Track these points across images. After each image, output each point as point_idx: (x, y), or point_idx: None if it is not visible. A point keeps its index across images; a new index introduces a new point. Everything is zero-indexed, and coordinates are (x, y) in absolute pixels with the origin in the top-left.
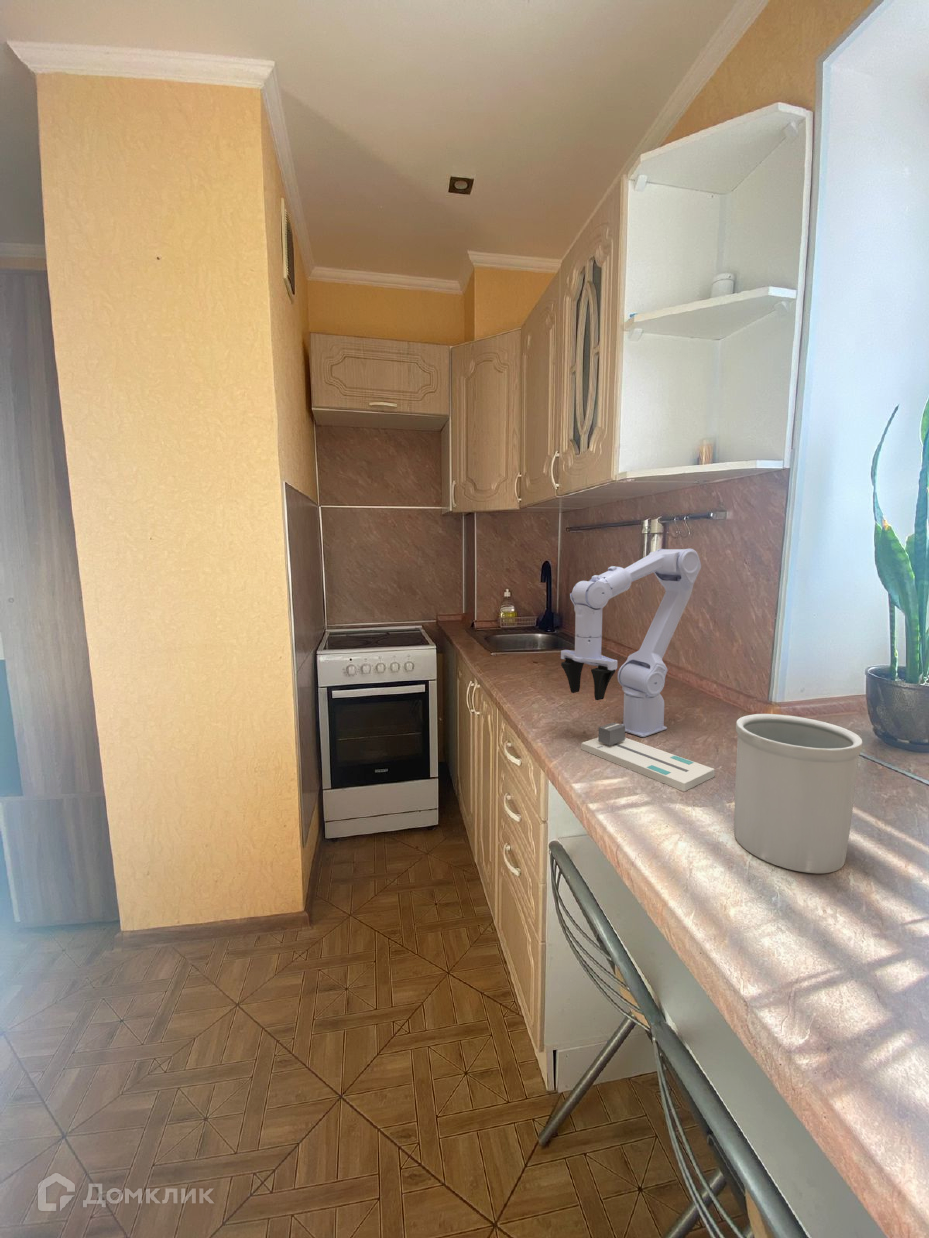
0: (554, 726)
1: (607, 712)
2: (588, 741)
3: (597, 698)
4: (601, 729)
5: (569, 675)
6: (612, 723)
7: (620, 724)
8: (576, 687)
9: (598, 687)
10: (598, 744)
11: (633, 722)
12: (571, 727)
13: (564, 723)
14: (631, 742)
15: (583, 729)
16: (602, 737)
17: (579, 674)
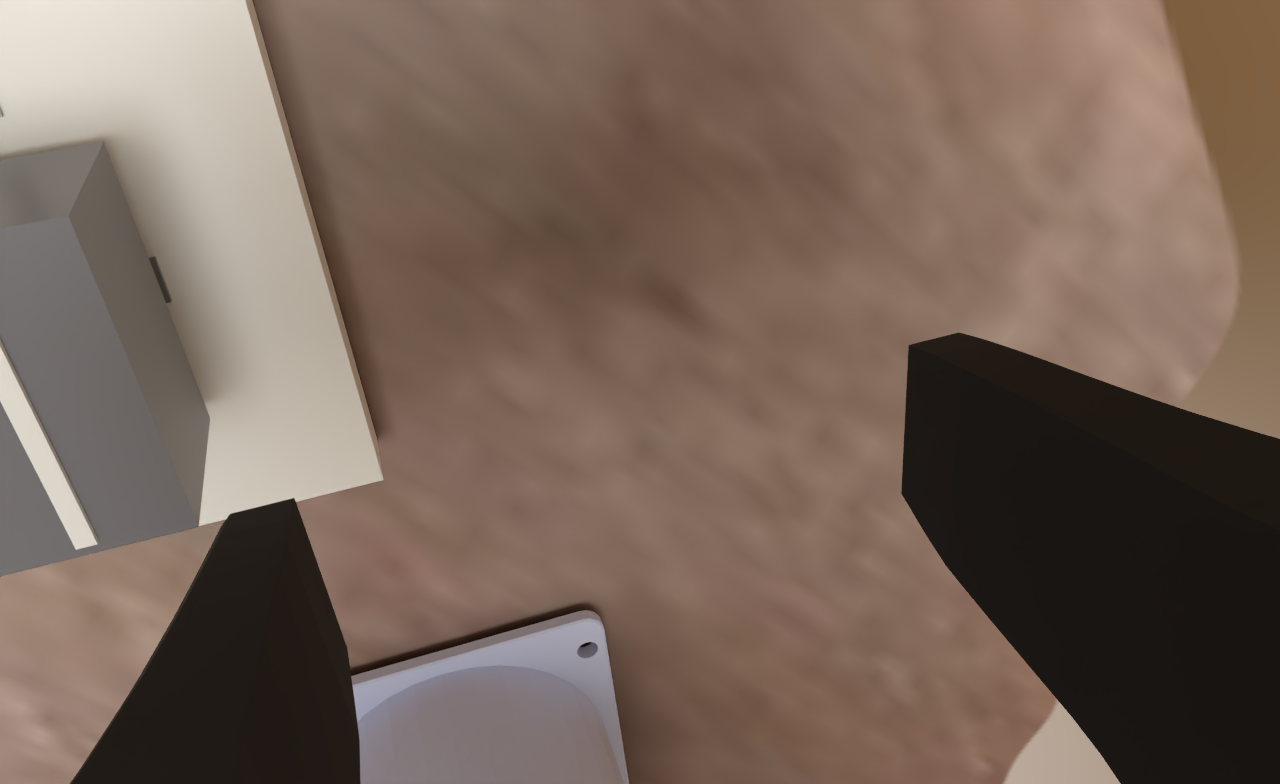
0: (978, 117)
1: (908, 720)
2: (234, 61)
3: (214, 540)
4: (6, 218)
5: (1267, 501)
6: (157, 485)
7: (73, 556)
8: (958, 486)
9: (92, 760)
10: (74, 112)
11: (414, 762)
12: (849, 265)
13: (968, 266)
14: None
15: (738, 341)
16: (10, 181)
17: (1146, 769)
